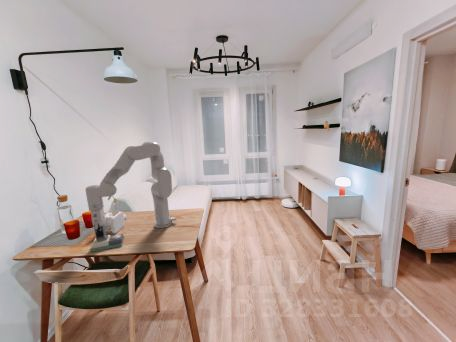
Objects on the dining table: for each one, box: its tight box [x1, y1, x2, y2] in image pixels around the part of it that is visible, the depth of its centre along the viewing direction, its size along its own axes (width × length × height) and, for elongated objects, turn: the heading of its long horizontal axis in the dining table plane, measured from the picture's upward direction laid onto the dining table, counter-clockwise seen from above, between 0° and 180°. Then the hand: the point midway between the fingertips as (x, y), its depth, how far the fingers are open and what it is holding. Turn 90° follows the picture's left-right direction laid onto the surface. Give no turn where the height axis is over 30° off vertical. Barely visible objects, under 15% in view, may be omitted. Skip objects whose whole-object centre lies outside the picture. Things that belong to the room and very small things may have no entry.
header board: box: [90, 233, 125, 253], centre depth 132 cm, size 16×12×4 cm
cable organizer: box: [104, 211, 126, 234], centre depth 149 cm, size 15×11×12 cm
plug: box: [93, 224, 107, 240], centre depth 129 cm, size 5×4×8 cm
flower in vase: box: [107, 195, 127, 220], centre depth 165 cm, size 13×11×25 cm
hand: (101, 234), depth 130 cm, fingers closed on plug, 4 cm apart
